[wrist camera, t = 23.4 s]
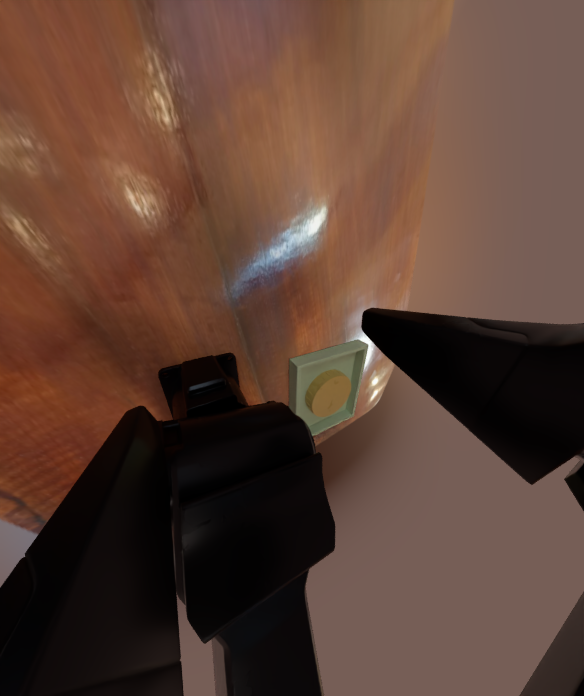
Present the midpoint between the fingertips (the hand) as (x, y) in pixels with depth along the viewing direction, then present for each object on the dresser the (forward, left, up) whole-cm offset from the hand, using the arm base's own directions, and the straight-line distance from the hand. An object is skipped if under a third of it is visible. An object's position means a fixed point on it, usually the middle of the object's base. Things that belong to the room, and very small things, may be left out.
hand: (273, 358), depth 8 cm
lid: (-15, -13, -10) cm, 23 cm away
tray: (-15, -13, -12) cm, 23 cm away
